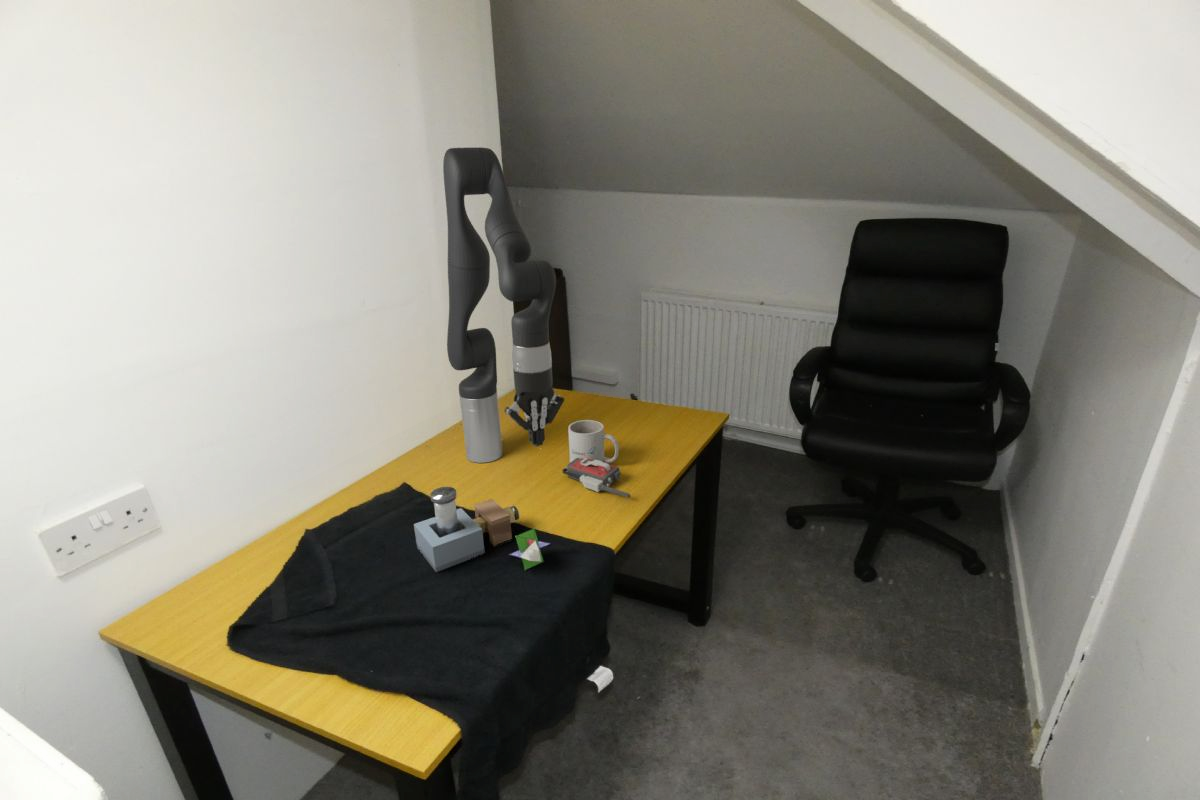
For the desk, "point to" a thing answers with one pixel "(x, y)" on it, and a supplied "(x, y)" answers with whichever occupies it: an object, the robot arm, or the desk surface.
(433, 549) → the dock socket
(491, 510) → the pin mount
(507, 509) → the lock pin
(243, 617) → the desk surface
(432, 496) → the silver round-topped cylinder
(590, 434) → the mug
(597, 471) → the walkie-talkie
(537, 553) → the geometric puzzle
